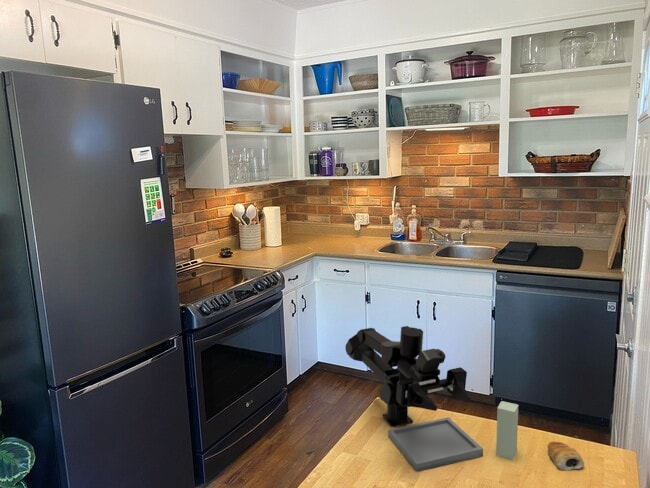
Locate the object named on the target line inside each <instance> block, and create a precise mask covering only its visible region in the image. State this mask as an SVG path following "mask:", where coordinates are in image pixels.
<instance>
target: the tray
mask: <svg viewBox="0 0 650 488" xmlns="http://www.w3.org/2000/svg"><path fill="white" fill-rule="evenodd" d="M387 432H388V433H387V436H388V438H389V439H390V441H391V440H392V441H391V443H393V445H394V446H395V447H396V448H397V450H398V451H399V452H400V453H401V455H402V456H404V458H405V460H407V462H408V463H409V464H410V465H411V467H412V468H413V469H414V471H415V472H417V473H418V472H421V471H426V470H430V469H434V468H435V469H436V468H438V467H444V466H447V465H451V464H452V465H453V464H455V463H460V462H464V461H469V460H473V459H477V458H482V457H484V448H483V447H482V446H481V445H480V444H479V443H477V442H476V441H475V440H474V439H473V437H471V436H470V435H469V434H468V433H467V432H465V431H464V430H463V429H462V428H461V427H460V426H458V424H456V423H455V421H453V420H452V419H451V418H450V417H449V416H448V417H443V418H439V419H438V418H437V419H433V420H429V421H424V422H423V421H422V422H419V423H414V424H410V425H408V424H407V425H404V426H398V427H395V428H394V427H393V428H389V429H388V430H387Z"/></svg>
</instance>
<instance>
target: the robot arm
mask: <svg viewBox="0 0 650 488" xmlns="http://www.w3.org/2000/svg"><path fill="white" fill-rule="evenodd" d="M399 338H400V341H393V340H390V339H389V338H387V337H386V336H385V335H383V334H381V333H379V332H378V331H376V329H375V328H373V327H368V328H361V329H359V330H358V331H357V333H356V334H354V335H353V336H352V337H350V338H349V339H348V340H347V342H346V344H345V353H346V354H347V356H348V357H349V358H350V359H352V360H353V361H357V362H363V364H364V365H365V366H366V367H367V368H368V369H369V370H370V371H371V372H372V373H373V374H374V375H375V376H376V377H377V378H378V379H379V380H380V381H381V382H382V383H383V386H382V387H381V388H380V390H378V393H379V394H378V395H379V397H380V400H381V401H382V402H384V404H386V408H387V409H386V413H383V414H382V417H383V418H384V419H385V421H386V423H388V424H389V425H390V426H391V427H393V428H394V427H400V426H403V425H404V426H405V425H408V424H412V423H413V422H414V421H413V419H412V418H411V417H410V416H409V414H408V413H409V409H408V408H418V409H424V410H428V411H434V412H436V411H437V410H438V406H437V404H436V403H435V402H434V401H433V400H432V399H431V398H430V397H429V396H428V395H431V394H435V393H438V392H439V391H442V390H443V391H444V390H446V391H447V393H448V394H450V395H451V397H453V398H455V399H458V400H460V401H462V402H465V403H471V398H470V396H469V393H468V391H467V390H466V385H467V376H468V372H467V371H466V370H465V369H464V368H463V367H455V368H451V369H448V370H447V371H446V378H443V379H440V377H439V376H441V369H439V366H440V364H443V363H444V362H445V359H446V357H447V356H446V353H445V352H444V351H443V350H441V349H440V348H430V349H425V350H424V349H423V344H424V343H423V342H424V331H423V330H422V329H421V328H417V327H410V326H408V325H406V326H405V325H404V326H401V327H400V336H399ZM394 367H397V368H394Z"/></svg>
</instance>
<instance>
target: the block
mask: <svg viewBox="0 0 650 488" xmlns="http://www.w3.org/2000/svg"><path fill="white" fill-rule="evenodd" d="M496 414H497V416H496V440H495V441H496V444H495V446H496V447H495V455H496V456H497V457H499V458H500V457H501V458H504V459H508V460H512V461H514V459H515V457H516V455H517V451H518V427H519V426H518V424H519V404H517V403H512V402H507V401H503V400H501V401H500V403H499V404H498V406H497V411H496Z"/></svg>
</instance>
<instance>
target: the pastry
mask: <svg viewBox="0 0 650 488" xmlns="http://www.w3.org/2000/svg"><path fill="white" fill-rule="evenodd" d="M547 452H548V455H549V458H550V459H551V460H552V462H553V464H554V465H555V467H556V468H557V469H558V470H560V471H562V470H563V471H570V470H580V469H582V468H583V467H584V464H585V461H584V460H583V457H582V456H581V454H579V452H577V450H576V449H575V448H574V447H571V446H569V444H566V443H564V442H561V441H549V443H548V444H547Z"/></svg>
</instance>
